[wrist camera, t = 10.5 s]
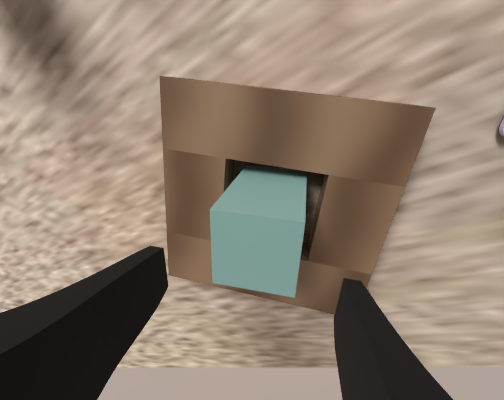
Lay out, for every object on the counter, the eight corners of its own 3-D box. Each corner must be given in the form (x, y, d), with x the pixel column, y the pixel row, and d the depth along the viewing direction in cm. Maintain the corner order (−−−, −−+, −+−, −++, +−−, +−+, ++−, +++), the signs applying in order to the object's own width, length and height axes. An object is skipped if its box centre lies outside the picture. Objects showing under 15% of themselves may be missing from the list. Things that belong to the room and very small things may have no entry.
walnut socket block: (418, 105, 14) (435, 108, 12) (350, 297, 20) (354, 318, 18) (176, 77, 16) (159, 76, 14) (180, 259, 22) (168, 275, 20)
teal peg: (306, 170, 16) (305, 221, 10) (299, 224, 18) (294, 297, 12) (246, 165, 17) (209, 209, 11) (245, 217, 19) (212, 283, 12)
